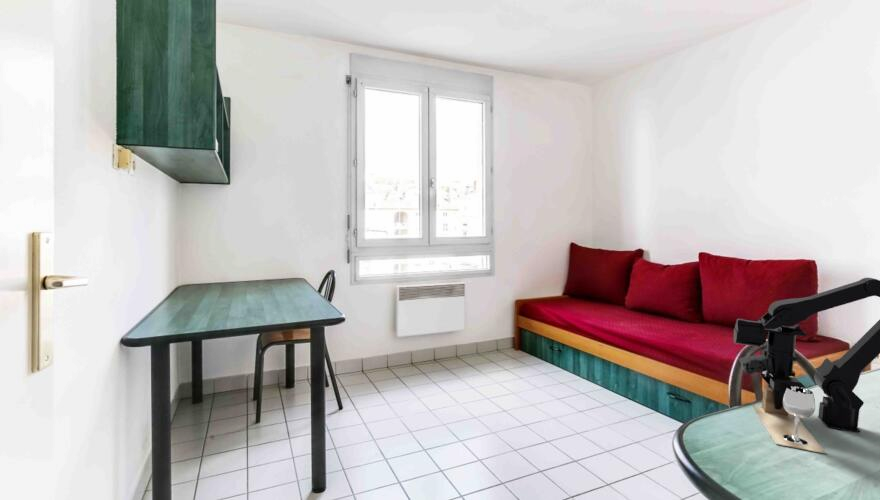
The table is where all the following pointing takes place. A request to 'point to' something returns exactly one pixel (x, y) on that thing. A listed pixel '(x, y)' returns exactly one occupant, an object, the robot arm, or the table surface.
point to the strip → (784, 424)
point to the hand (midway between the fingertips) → (775, 406)
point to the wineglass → (798, 409)
